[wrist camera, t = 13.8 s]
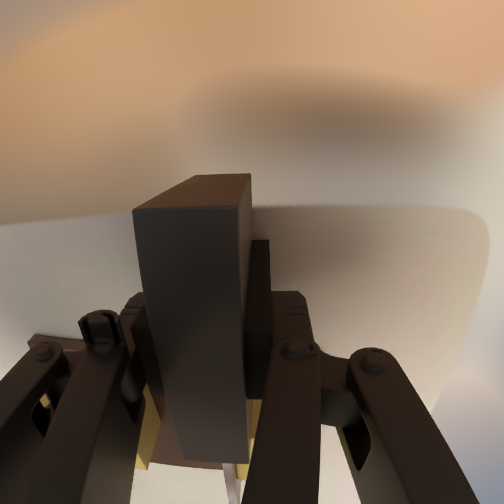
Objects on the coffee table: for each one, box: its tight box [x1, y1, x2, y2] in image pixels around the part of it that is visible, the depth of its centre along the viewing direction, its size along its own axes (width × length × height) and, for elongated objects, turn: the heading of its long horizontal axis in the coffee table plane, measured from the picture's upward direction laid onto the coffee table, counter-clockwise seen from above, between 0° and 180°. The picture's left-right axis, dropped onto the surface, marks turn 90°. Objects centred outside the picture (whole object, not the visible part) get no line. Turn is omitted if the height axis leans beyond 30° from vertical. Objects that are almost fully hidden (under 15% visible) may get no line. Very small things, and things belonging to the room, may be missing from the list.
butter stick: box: [40, 383, 161, 470], centre depth 16 cm, size 7×4×4 cm, turn 92°
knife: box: [132, 173, 253, 504], centre depth 13 cm, size 18×2×7 cm, turn 1°
